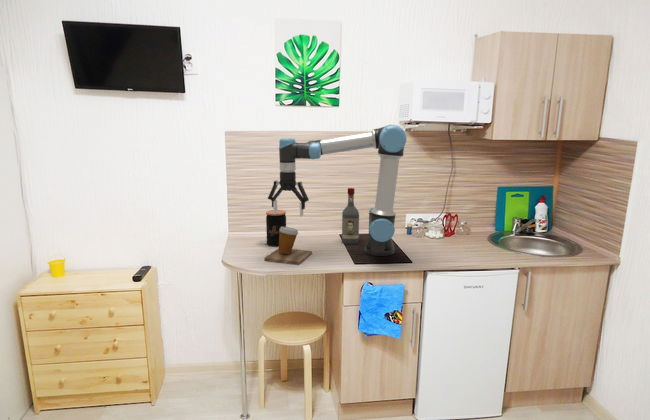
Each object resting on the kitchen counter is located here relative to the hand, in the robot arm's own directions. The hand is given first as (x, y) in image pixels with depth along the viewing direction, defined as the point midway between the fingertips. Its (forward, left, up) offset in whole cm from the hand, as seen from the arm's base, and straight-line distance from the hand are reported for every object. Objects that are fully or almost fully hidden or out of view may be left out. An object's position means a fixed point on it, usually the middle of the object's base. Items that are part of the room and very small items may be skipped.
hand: (288, 214), depth 212 cm
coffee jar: (+15, -19, -22) cm, 33 cm away
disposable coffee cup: (+3, 0, -20) cm, 20 cm away
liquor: (-22, -36, -22) cm, 47 cm away
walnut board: (0, 0, -22) cm, 22 cm away
